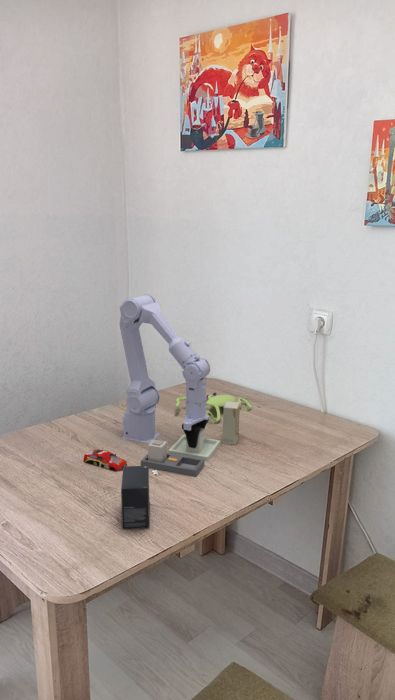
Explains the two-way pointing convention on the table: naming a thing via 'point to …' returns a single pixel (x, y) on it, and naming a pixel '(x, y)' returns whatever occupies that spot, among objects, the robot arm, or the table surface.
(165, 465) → the strip
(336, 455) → the table surface
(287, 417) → the table surface
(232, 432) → the skincare box
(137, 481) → the small box
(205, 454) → the tray
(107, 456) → the race car
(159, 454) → the twin plug
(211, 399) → the figurine
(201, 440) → the plug
